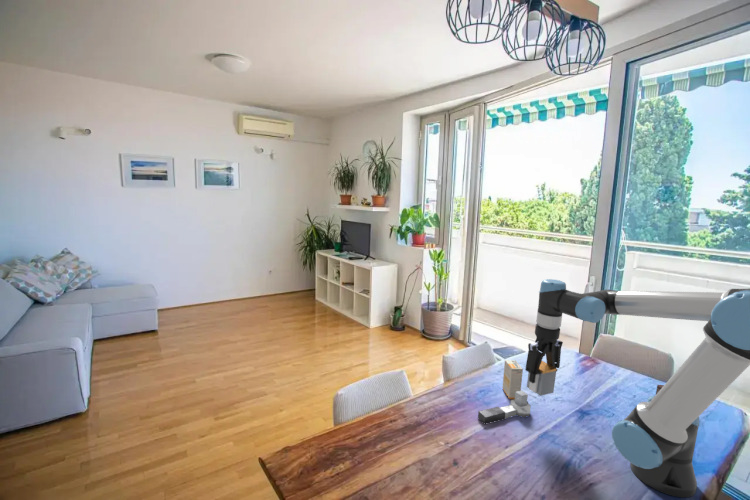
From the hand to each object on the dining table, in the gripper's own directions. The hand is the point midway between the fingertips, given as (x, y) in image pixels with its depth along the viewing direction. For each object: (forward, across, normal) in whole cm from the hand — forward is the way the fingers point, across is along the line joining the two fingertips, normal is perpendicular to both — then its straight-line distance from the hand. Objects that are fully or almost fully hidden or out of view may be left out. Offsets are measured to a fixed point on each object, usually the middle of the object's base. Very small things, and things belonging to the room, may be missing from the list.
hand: (540, 388), depth 126 cm
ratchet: (+15, +5, -9) cm, 18 cm away
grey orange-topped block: (0, 0, 0) cm, 0 cm away
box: (+14, -62, +9) cm, 64 cm away
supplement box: (+15, -8, -20) cm, 26 cm away
